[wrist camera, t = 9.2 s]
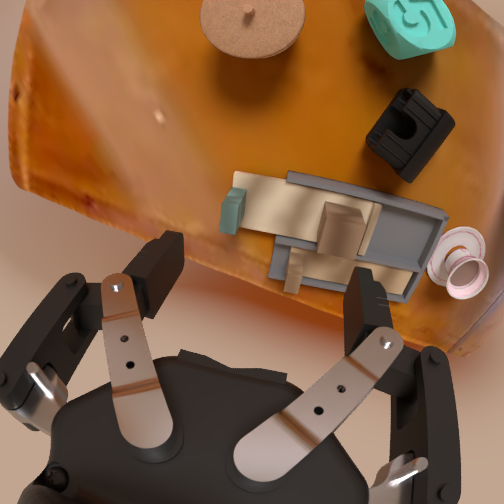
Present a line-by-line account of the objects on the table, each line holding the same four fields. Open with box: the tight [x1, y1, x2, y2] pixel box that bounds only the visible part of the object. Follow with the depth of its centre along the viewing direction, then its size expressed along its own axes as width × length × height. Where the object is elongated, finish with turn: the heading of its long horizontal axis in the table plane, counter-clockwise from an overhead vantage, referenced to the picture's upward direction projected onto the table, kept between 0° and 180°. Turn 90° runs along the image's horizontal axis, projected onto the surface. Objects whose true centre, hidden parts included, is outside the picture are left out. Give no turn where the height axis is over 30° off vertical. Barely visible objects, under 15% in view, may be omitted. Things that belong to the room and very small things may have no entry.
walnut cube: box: [317, 201, 366, 260], centre depth 37 cm, size 5×5×5 cm
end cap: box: [366, 88, 455, 183], centre depth 30 cm, size 10×7×7 cm
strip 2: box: [284, 246, 414, 295], centre depth 42 cm, size 20×5×6 cm, turn 83°
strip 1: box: [220, 171, 382, 256], centre depth 38 cm, size 20×8×6 cm, turn 83°
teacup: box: [427, 227, 489, 299], centre depth 38 cm, size 12×12×6 cm
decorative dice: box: [364, 0, 456, 60], centre depth 21 cm, size 8×8×8 cm
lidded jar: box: [200, 0, 305, 59], centre depth 24 cm, size 11×11×9 cm
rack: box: [268, 171, 449, 304], centre depth 42 cm, size 24×17×2 cm
